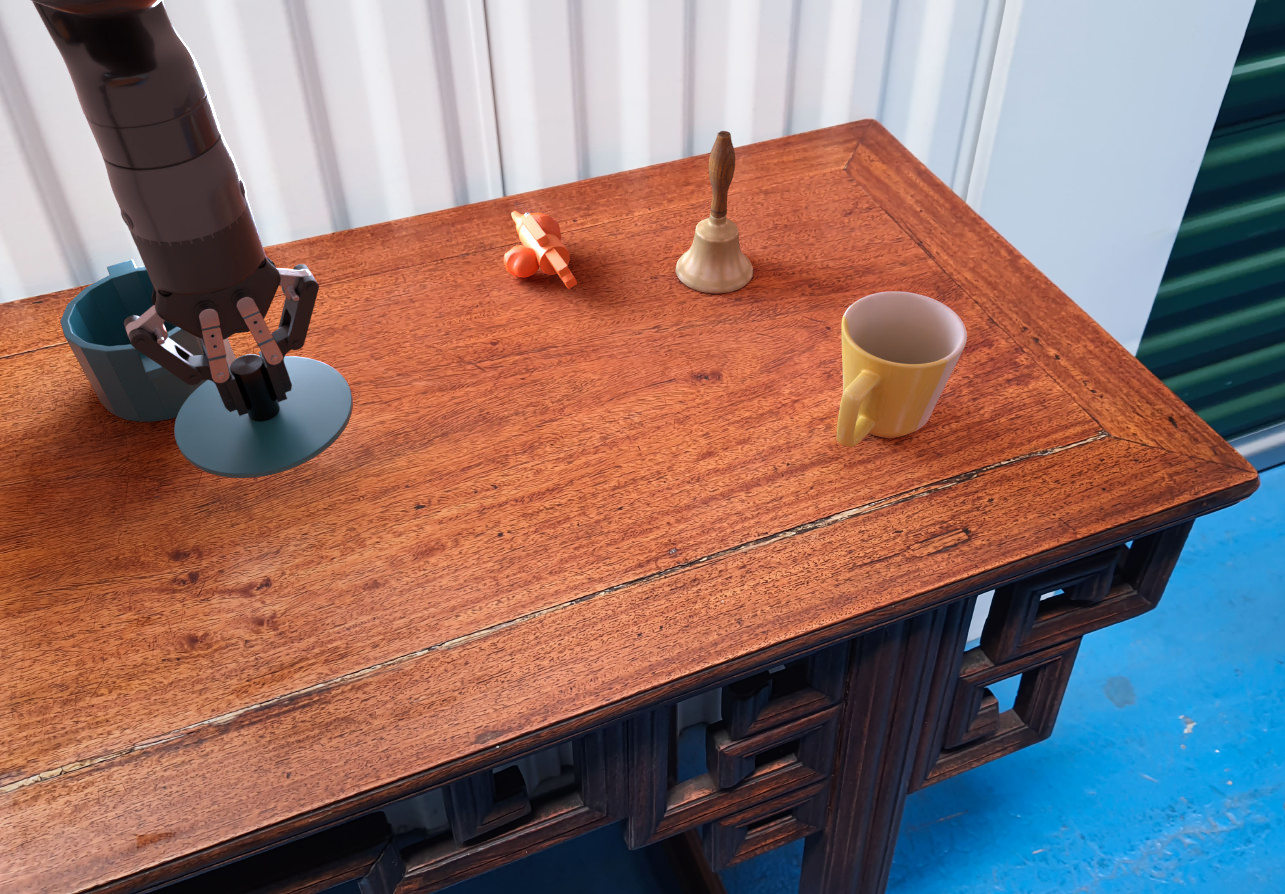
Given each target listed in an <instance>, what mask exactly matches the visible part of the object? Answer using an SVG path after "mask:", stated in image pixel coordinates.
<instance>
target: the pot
mask: <svg viewBox="0 0 1285 894" xmlns="http://www.w3.org/2000/svg"><path fill="white" fill-rule="evenodd" d="M106 270H107V273H108V275H106V276H105V277H103V278H101V279H99V280H97V281H95V282H93V283H92V284H90V285H87V286H86V287H84V288H83V289H82V290H81V291H80V292H79V293H78V294H77V295H76V296H75V297H74V298H72V299H71V300H70V301H69V302H68V303H67V304H66V306H65V308H64V311H63V314H62V316H61V318H60V321H59V322H60V326H61V329H62V332H63V336H64V339H65V340H66V342H67V343H68V345H69V347H70V349H71V351H72V353H73V354H74V357H75V358H76V360H77V362H78V364H79V366H80V368H81V369H82V371H83V373H84V375H85V377H86V378H87V381H88V382H89V384H90V386H91V387H92V389H93V391H94V393H95V395H96V397H97V399H98V401H99V402H100V404H101V405H102V406H103V407H104V408H105V409H106V410H107V411H108V412H109V413H111V414H112V415H114V416H116V417H118V418H121V419H122V420H127V421H131V422H138V423H139V422H141V423H150V422H151V423H153V422H160V421H167V420H172V419H176V418H177V415H178V413H179V411H180V409H181V407H182V405H183V404H184V402H185V401H186V400H187V399H188V397H189V396H190V395H191V394H192V393H193V392H194V391H195V390H196V389H197V388H198V387H200V386H201V385H202V384H203V383H205V382H206V381H208V380H201V382H200V383H198V384H196V385H189V384H187V383H185V382H184V381H182V380H181V379H179V378H178V377H177V376H175V375H174V374H172V373H171V372H169V371H168V370H166V369H165V368H163V367H162V366H160V365H159V364H157V363H156V362H154V361H153V360H152V359H150V358H149V357H147V356H146V355H144V354H143V353H141V352H140V351H138V350H137V349H135V348H134V347H133V346H132V345H131V342H130V339H129V337H128V335H127V332H126V328H125V326H124V321H125V319H126V318H128V317H129V316H139V317H140V316H141V315H143V314H144V313H145V312H146V311H147V310H148V309H150V308H151V307H152V306H153V303H152V294H153V284H152V282H151V279H150V277H149V275H148V272H147V270H146V268H145V266H136V263H135V261H134V259H129V260H126V261H122V262H119V263H115V264H112V265H109V266H106ZM163 325H164V326H165V329H166V331H167V334H168V338H170V339H171V340H173V341H174V342H175V343H177V344H178V345H180V346H181V347H182V348H184V349H185V350H187V351H188V352H189V353H191V354H192V355H193V356H200V355H203V352H202V348H201V344H200V340H199V338H198V337H196V336H194V335H192V334H190V333H188V332H186V331H184V330H183V329H181V328H179V327H177V326H175V325H173V324H171V323H169V322H167V321H165V322H164V324H163ZM223 342H224V347H225V351H226V360H227V362H228V364H229V367H230V365H231V363H232V362H233V361H234V360H235V359H236V355H235V353H234V350H233V348H232V345H231V342H230V339H229V337H228V338H226V339H224V340H223Z"/></svg>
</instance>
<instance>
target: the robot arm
mask: <svg viewBox="0 0 1285 894" xmlns="http://www.w3.org/2000/svg"><path fill="white" fill-rule="evenodd" d="M30 1H31V2H32V4H33V6H34V7H35V10H36V11H37V14H38V15H39V17H40V19H41V21H42V23H43V25H44V27H45V28H46V31H47V32H48V35H49V36H50V38H51V39H52V41H53V43H54V45H55V46H56V49H57V50H58V52H59V54H60V55H61V57H62V59H63V63H64V64H65V67H66V69H67V71H68V73H69V76H70V79H71V81H72V84H73V87H74V90H75V93H76V96H77V100H78V102H79V105H80V108H81V110H82V113H83V115H84V117H85V119H86V122H87V124H88V126H89V129H90V131H91V133H92V136H93V138H94V140H95V143H96V145H97V147H98V150H99V151H100V154H101V157H102V160H103V163H104V166H105V169H106V174H107V178H108V181H109V184H110V188H111V191H112V194H113V196H114V197H115V201H116V203H117V204H118V208H119V210H120V216H121V218H122V220H123V222H124V224H125V225H126V226H127V228H128V231H129V233H130V235H131V238H132V240H133V242H134V244H135V247H136V250H137V251H138V254H139V256H140V259H141V260H142V261H141V262H142V263H143V266H144V267H145V268H146V270H147V272H148V275H149V277H150V279H151V282H152V284H153V294H152V303H153V306H152V307H151V308H150V309H148V310H147V311H146V312H145V313H144V314H143V315H141V316H140V317H139V316H129V317H128V318H126V319H125V321H124V326H125V328H126V332H127V335H128V337H129V339H130V342H131V345H132V346H133V347H134V348H135V349H137V350H138V351H140V352H141V353H143V354H144V355H146V356H147V357H149V358H150V359H152V360H153V361H154V362H156V363H157V364H159V365H160V366H162V367H163V368H165V369H166V370H168V371H169V372H171V373H172V374H174V375H175V376H177V377H178V378H179V379H181V380H182V381H184V382H185V383H187V384H189V385H196V384H198V383H200V382H201V380H211V381H213V382H214V383H215V385H216V387H217V389H218V392H219V394H220V397H221V399H222V401H223V404H224V406H225V408H226V409H227V410H228V411H229V412H232V411H235V410H237V412H238V414H239V416H241V415H244V414H247V413H248V410H247V408H246V405H245V403H244V400H243V398H242V395H241V392H240V390H239V387H238V385H237V382H236V380H235V377H234V375H233V373H232V372H231V370H230V367H229V364H228V362H227V360H226V351H225V347H224V342H223V340H224V339H226V338H228V339H229V338H230V337H232V336H233V335H236V334H243V333H249V332H250V333H251V335H252V338H253V339H254V341H255V343H256V345H257V347H258V348H259V350H260V351H258V356H260V357H261V358H262V359H263V362H264V365H265V368H266V371H267V373H268V376H269V379H270V382H271V384H272V387H273V390H274V393H275V395H276V398H277V400H278V402H281V401H284V400H286V399H287V396H286V392H289V391H291V389H292V383H291V380H290V377H289V374H288V371H287V369H286V366H285V363H284V357H285V356H287V354H289V352H290V351H299V350H301V349H303V347H304V345H305V342H306V338H307V335H308V331H309V327H310V323H311V320H312V316H313V312H314V308H315V304H316V301H317V297H318V293H319V289H320V285H319V283H318V281H317V280H316V277H314V275H313V273H312V271H311V270H310V268H309V266H307V265H306V264H305V263H299V264H296V265H295V266H294V267H293V268H292V269H291V268H282V267H281V268H279V267H277V265H276V264H275V262H274V261H273V260H271V258H270V257H268V256H267V254H266V251H265V247H264V245H263V242H262V239H261V237H260V233H259V230H258V227H257V225H256V224H257V223H256V220H255V217H254V215H253V212H252V209H251V206H250V205H251V204H250V202H249V200H248V196H247V189H246V185H245V182H244V180H243V179H242V177H241V175H240V171H239V169H238V166H237V164H236V161H235V158H234V155H233V154H232V151H231V150H230V148H229V146H228V144H227V142H226V140H225V137H224V136H223V133H222V130H221V127H220V123H219V121H218V119H217V115H216V112H215V109H214V105H213V103H212V100H211V96H210V94H209V91H208V88H207V84H206V82H205V80H204V78H203V77H204V76H203V75H202V72H201V69H200V67H199V65H198V63H197V60H196V59H195V57H194V55H193V54H192V52H191V50H190V48H189V47H188V45H186V43H185V42H184V41H183V39H182V38H181V37H180V35H179V34H178V32H177V31H176V29H175V27H174V25H173V24H172V22H171V20H170V18H169V15H168V13H167V10H166V7H165V4H164V0H30ZM279 287H281V288H280V290H281V292H282V293H283V295H284V297H285V298H284V303H283V308H282V311H281V315H280V319H279V323H278V328H277V329H275V330H274V331H272V332H271V330H270V328H269V327H268V325H267V323H266V321H265V318H266V317H267V314H268V312H269V311H270V307H271V306H272V303H273V302H274V298H275V296H276V294H277V291H278V290H279ZM165 321H167V322H169V323H171V324H173V325H175V326H177V327H179V328H181V329H183V330H184V331H186V332H188V333H190V334H192V335H194V336H196V337H198V338H199V340H200V344H201V348H202V352H203V355H200V356H193V355H192V354H191V353H189V352H188V351H187V350H185V349H184V348H182V347H181V346H180V345H178V344H177V343H175V342H174V341H173V340H171V339H170V338H168V334H167V331H166V329H165V326H164V325H163V324H164V322H165Z"/></svg>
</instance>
